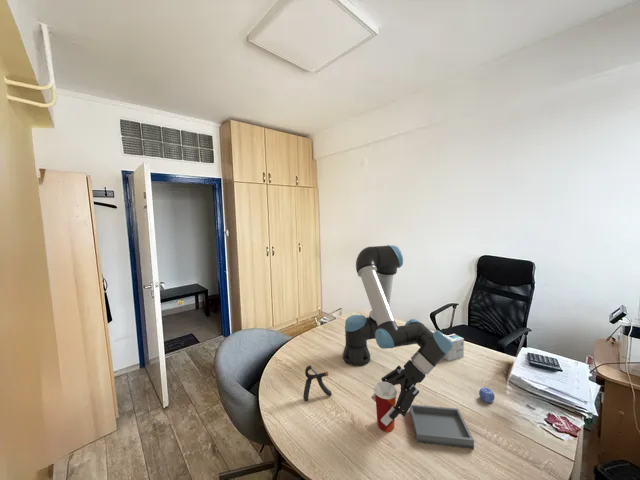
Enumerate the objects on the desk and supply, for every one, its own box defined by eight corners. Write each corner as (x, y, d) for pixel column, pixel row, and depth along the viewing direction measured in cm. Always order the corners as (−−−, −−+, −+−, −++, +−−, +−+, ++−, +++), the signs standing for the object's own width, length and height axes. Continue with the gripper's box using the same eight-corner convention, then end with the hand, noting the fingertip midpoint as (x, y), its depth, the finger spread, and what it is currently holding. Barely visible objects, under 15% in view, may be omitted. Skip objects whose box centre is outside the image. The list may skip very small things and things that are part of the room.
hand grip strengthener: (332, 397, 109) (331, 365, 108) (303, 402, 107) (302, 368, 106) (331, 394, 112) (330, 362, 110) (303, 398, 110) (301, 365, 108)
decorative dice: (494, 401, 104) (494, 392, 104) (487, 403, 103) (487, 394, 102) (485, 395, 108) (485, 386, 107) (478, 397, 107) (478, 388, 106)
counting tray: (417, 442, 86) (417, 434, 86) (409, 411, 100) (409, 404, 100) (473, 448, 83) (474, 440, 83) (458, 415, 97) (458, 408, 97)
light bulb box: (454, 351, 143) (454, 333, 142) (464, 357, 137) (464, 338, 136) (439, 355, 140) (439, 336, 139) (448, 361, 133) (449, 342, 132)
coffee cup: (398, 436, 89) (398, 396, 88) (374, 433, 91) (374, 394, 89) (396, 417, 97) (395, 381, 96) (374, 415, 99) (373, 379, 98)
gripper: (442, 394, 82) (397, 444, 82) (410, 356, 105) (375, 394, 105) (427, 381, 81) (381, 430, 81) (398, 345, 104) (362, 384, 104)
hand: (378, 410), depth 93 cm, fingers open, 11 cm apart
